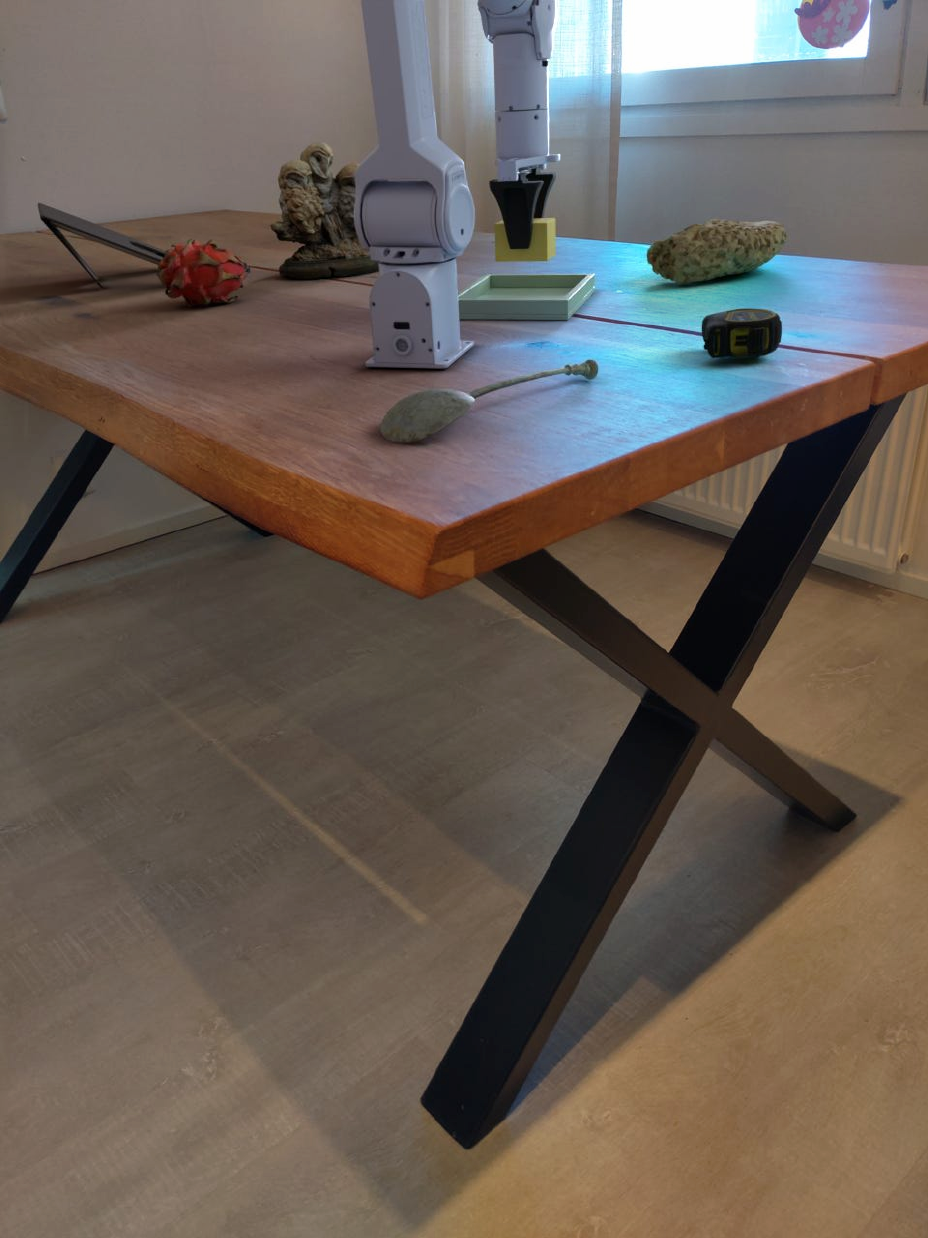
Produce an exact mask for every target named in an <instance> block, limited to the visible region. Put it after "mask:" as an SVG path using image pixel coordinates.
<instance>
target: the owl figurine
mask: <svg viewBox="0 0 928 1238" xmlns="http://www.w3.org/2000/svg"><path fill="white" fill-rule="evenodd" d="M299 156H300V157H299V158H292V159H290V160H287V162H286V163H284V164H282V165H281V166H280V170H279V171H280V172H279V174H278V178H277V183H278V188H279V189H280V194H279V198H278V204H279V208H280V210H281V219H282V221H281V220H280V221H279V220H276V221H275V222H274V223H270V224H269V227H270V229H271V231H272V232H274V233H275V236H276V239H277V240H279V242H292V243H293V244H295V243H298V244H300V245H301V246H300V247H298V248H297V250H296V251H294V253H293V254H292V255H291V256H290V257H288V258H285V260H284V262H283V263H282V264H281V265H280V266H279V267H278V273H279V275H280V276H281V275H286V276H287V277H290V278H293V279H299V280H314V279H322V278H326V279H327V278H330V277H331V276H332V270H334V271H333V276H336V277H338V278H343V277H348V276H356V275H363V274H364V275H365V274H369V273H375V272H379V266H378V262H379V261H374V260H371V254H370V252H369V251H368V250H366V248H365V247H364V246H363V245H362V243H361V241H360V239H359V237H358V235H357V232H356V229H355V224H354V205H355V197H356V185H355V176H354V172H355V170H356V169H357V168H358V166H359V165H360V164H361V163H357V162H351V163H349V164H346V165H344V166H343V167H342V168H340V170H339V171H338V173H337V175H335V173H334V171H333V170H332V165H333V162H334V151H333V149H332V148H331V147H330V146H329V145H328V144H327V143H325V142H322V141H318V142H312V143H311V144H309V145H307V146H306V148H305V149H304V150H302V152H301V153H300V155H299ZM331 269H332V270H331Z"/></svg>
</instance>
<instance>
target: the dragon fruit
mask: <svg viewBox="0 0 928 1238" xmlns="http://www.w3.org/2000/svg"><path fill="white" fill-rule="evenodd" d="M170 247H171V248H170V249H166V250H164V251H165V256H164V257H165V258H163V259H162V260H161V261H160V262H159V263H157V264H158V265H157V269H158V273H157V274H156V276H157V278H158V279H159V281H160V283H161V284H162V285H163V286H165V288H166V289H165V290H164V292H165V295H166V296H167V297H168V298H169V299H178V298H180V297H183V298H184V302H185V304H186V305H187V306H188V307H190V308H191V307H193V306H195V305H198V303H199V304H200V305H204V306H206V305H208V304H210V303H219V302H220V303H224V304H230V303H233V302H235V301H236V300H238V299H239V296H238V295H234V296H231V297H229V295H230V294H231V293H234V292H236V291H238V290H239V289H243V288H244V284H243V282H244V281H245V279H246V278H247V277H248V275H249V274H250V273H251V267H250V266H249V267H247V266H248V264H247V263H246V262H245V260H243V258H241V257H239V256H237V255H234V254H233V253H232V252H231V249H229V248H221V247H218V245H217V243H216V241H215V239H209V240H208V241H207V242H206V243H204V244H201V243H200V241H198V240H197V239H194V240H193V239H192V238H189V239H188V240H187V241H186V245H185V246H184V245H182V244H180V243H172V244H171V246H170ZM173 247H174V249H173ZM228 297H229V298H228Z"/></svg>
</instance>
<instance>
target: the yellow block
mask: <svg viewBox="0 0 928 1238" xmlns="http://www.w3.org/2000/svg"><path fill="white" fill-rule="evenodd" d="M493 227H494V228H493V229H494V256H495V257H494V259H495V260H494V261H495V262H497V263H501V262H502V263H503V262H504V263H506V262H512V263H513V262H549V260H551V259H552V258H554V257H555V256H556V255H557V254H556V253H557V252H556V251H557V249H556V248H557V246H556V244H557V243H556V239H557V238H556V217H544V218H533V229H532V237H531V242H530V246H529V248H528V249H510V247H509V243H508V240H507V235H506V231H505V226H504V222H503V219H502V220H499V221H497V222H495V223H494V224H493Z"/></svg>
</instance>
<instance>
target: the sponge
mask: <svg viewBox="0 0 928 1238" xmlns="http://www.w3.org/2000/svg"><path fill="white" fill-rule="evenodd" d="M786 232H787V231H786V229H785V225H783V224H781V223H780V222H778V221H775V220H763V221H739V220H728V219H723V218H722V219H721V218H713V219H710V220H707V221H704V223H703V224H701V223H694V224H691V225H689V226H687V227H685V228H683V230H681V231H678V232H675V233H673V234H672V235H670V236H669V237H667V238H665V239H661V240H658V241H656V242H654V243H652V244H651V245H650V246H649V248H648V249H647V250H646V262H647V264H648V265H651V268H652V272H653V273H654V274H655V275H660V277H661V278H663V279H665V280H669V281H671V282H674V283H675V285H686V284H691V283H694V282H703V281H710V280H714V279H716V278H719V277H720V278H722V277H725V276H730V275H739V274H744V273H748V272H751V271H753V270H756V269H758V268H759V267H762V266H763V265H765V264H767V263H769V262H770V261H771V260H772V259H773V258H775V257H776V256H777V255H778V254H779V253H780V251H781V250H782V249H783V247H784V245H785V244H786V243H787V233H786Z"/></svg>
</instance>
